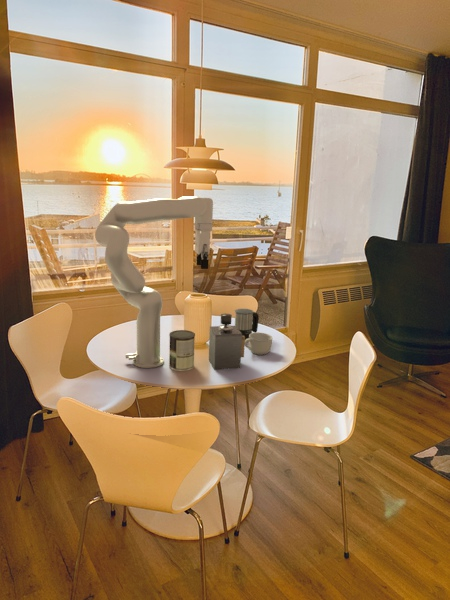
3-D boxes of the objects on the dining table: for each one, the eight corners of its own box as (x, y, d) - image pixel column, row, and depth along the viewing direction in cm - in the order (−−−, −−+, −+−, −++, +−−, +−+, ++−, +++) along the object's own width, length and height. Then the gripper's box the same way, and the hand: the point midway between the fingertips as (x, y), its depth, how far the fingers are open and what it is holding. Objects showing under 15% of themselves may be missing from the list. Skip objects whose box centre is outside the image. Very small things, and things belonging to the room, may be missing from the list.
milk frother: (246, 344, 208) (247, 314, 204) (218, 337, 216) (219, 308, 212) (259, 336, 219) (261, 308, 216) (233, 330, 228) (234, 303, 224)
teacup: (265, 347, 204) (266, 331, 202) (275, 355, 194) (277, 338, 192) (237, 350, 199) (238, 333, 197) (247, 358, 189) (248, 341, 187)
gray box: (214, 369, 175) (215, 334, 172) (208, 359, 186) (209, 326, 182) (246, 367, 179) (248, 333, 175) (239, 358, 189) (240, 325, 185)
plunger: (217, 360, 176) (219, 317, 172) (213, 353, 184) (214, 312, 180) (236, 359, 178) (238, 317, 174) (231, 353, 186) (233, 312, 181)
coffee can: (164, 368, 174) (164, 335, 171) (176, 360, 184) (176, 328, 180) (187, 373, 171) (188, 339, 168) (198, 364, 180) (199, 332, 177)
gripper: (191, 225, 191) (190, 263, 195) (198, 228, 175) (197, 270, 179) (207, 225, 193) (206, 263, 197) (216, 229, 177) (214, 270, 181)
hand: (202, 266), depth 188 cm, fingers open, 9 cm apart
